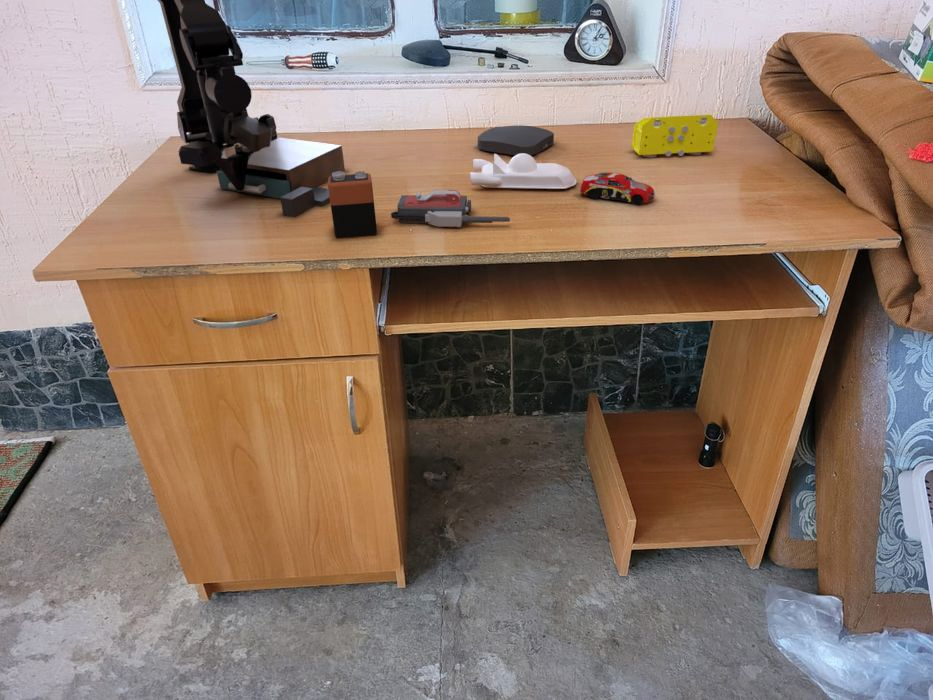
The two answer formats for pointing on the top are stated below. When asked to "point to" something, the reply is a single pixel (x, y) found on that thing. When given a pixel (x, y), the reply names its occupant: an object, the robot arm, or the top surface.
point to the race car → (616, 188)
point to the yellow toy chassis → (674, 135)
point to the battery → (352, 204)
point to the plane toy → (521, 174)
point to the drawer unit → (299, 161)
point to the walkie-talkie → (439, 210)
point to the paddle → (303, 200)
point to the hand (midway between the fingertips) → (240, 190)
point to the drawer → (257, 184)
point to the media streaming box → (515, 139)
